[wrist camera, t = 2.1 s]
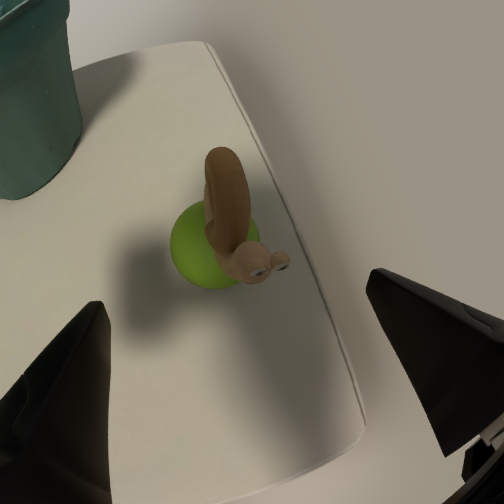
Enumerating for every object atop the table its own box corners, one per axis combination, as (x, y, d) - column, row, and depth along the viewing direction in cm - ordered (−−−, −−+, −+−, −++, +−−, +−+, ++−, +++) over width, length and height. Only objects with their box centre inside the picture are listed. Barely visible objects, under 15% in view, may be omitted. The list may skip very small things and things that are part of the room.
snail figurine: (185, 316, 18) (166, 295, 6) (167, 227, 19) (143, 103, 8) (262, 298, 19) (358, 251, 8) (239, 214, 20) (291, 92, 9)
